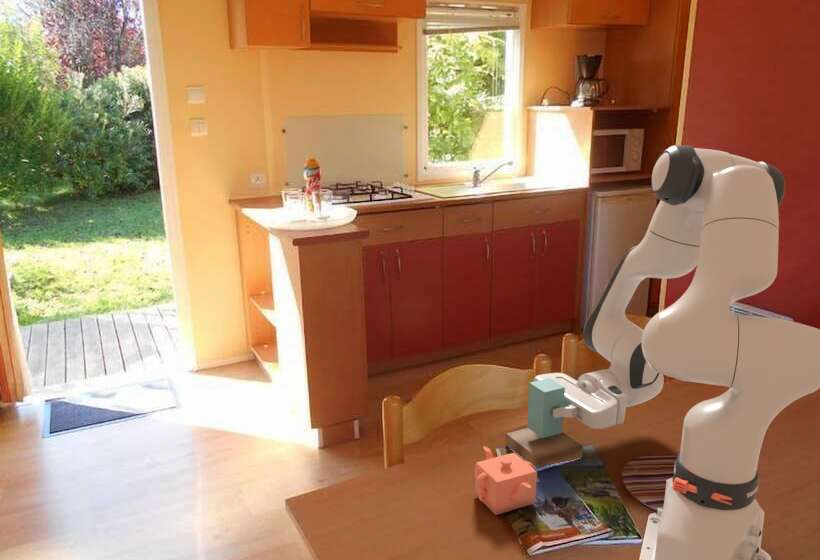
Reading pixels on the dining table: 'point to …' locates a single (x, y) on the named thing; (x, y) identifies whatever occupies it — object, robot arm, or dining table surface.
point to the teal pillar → (545, 407)
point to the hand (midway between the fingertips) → (542, 406)
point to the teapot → (505, 482)
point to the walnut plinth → (543, 447)
